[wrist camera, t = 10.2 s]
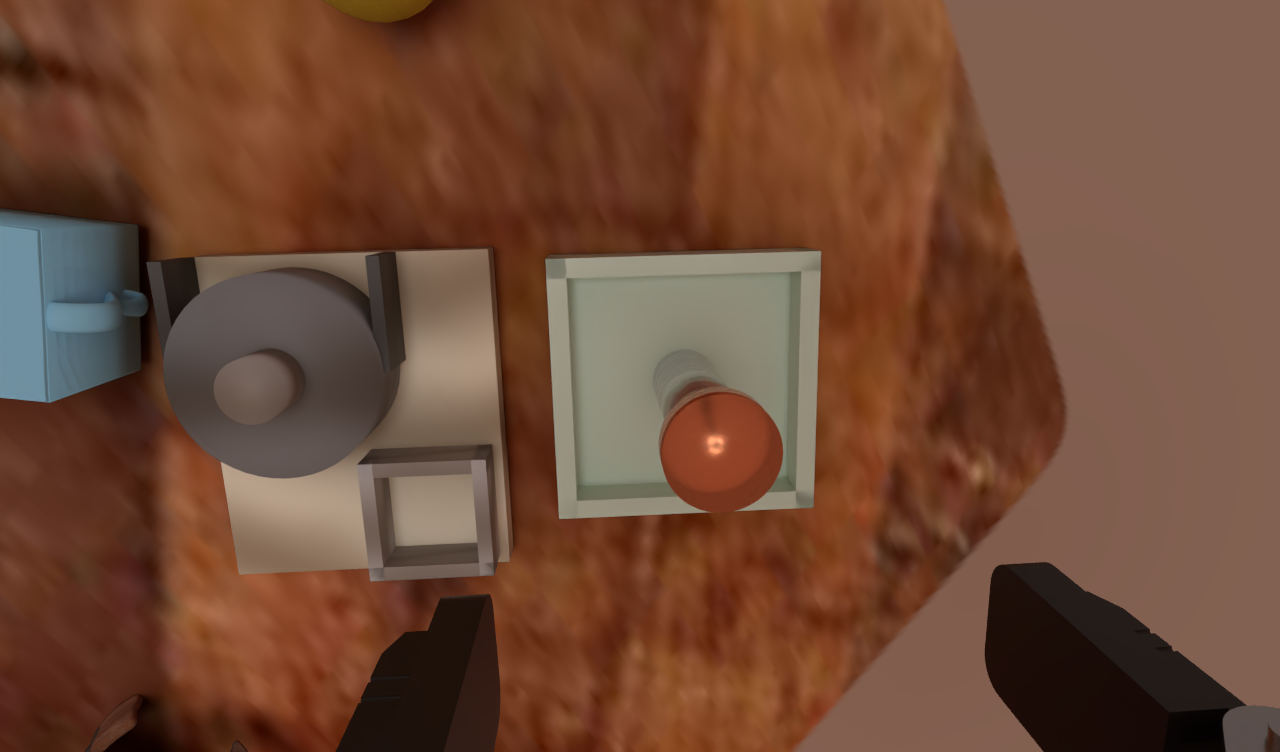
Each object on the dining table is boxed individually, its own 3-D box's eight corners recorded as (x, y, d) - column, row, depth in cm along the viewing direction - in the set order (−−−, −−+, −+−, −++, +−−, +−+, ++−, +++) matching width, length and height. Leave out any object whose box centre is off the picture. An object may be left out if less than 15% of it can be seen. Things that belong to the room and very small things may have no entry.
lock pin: (640, 340, 32) (660, 398, 22) (726, 336, 33) (784, 393, 23) (642, 423, 33) (662, 515, 23) (726, 419, 33) (782, 509, 24)
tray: (549, 254, 32) (545, 258, 30) (804, 247, 33) (821, 251, 30) (561, 496, 35) (559, 519, 32) (798, 486, 35) (813, 507, 33)
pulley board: (201, 255, 31) (100, 267, 25) (493, 247, 32) (466, 257, 26) (248, 559, 35) (170, 638, 28) (513, 546, 35) (494, 621, 29)
